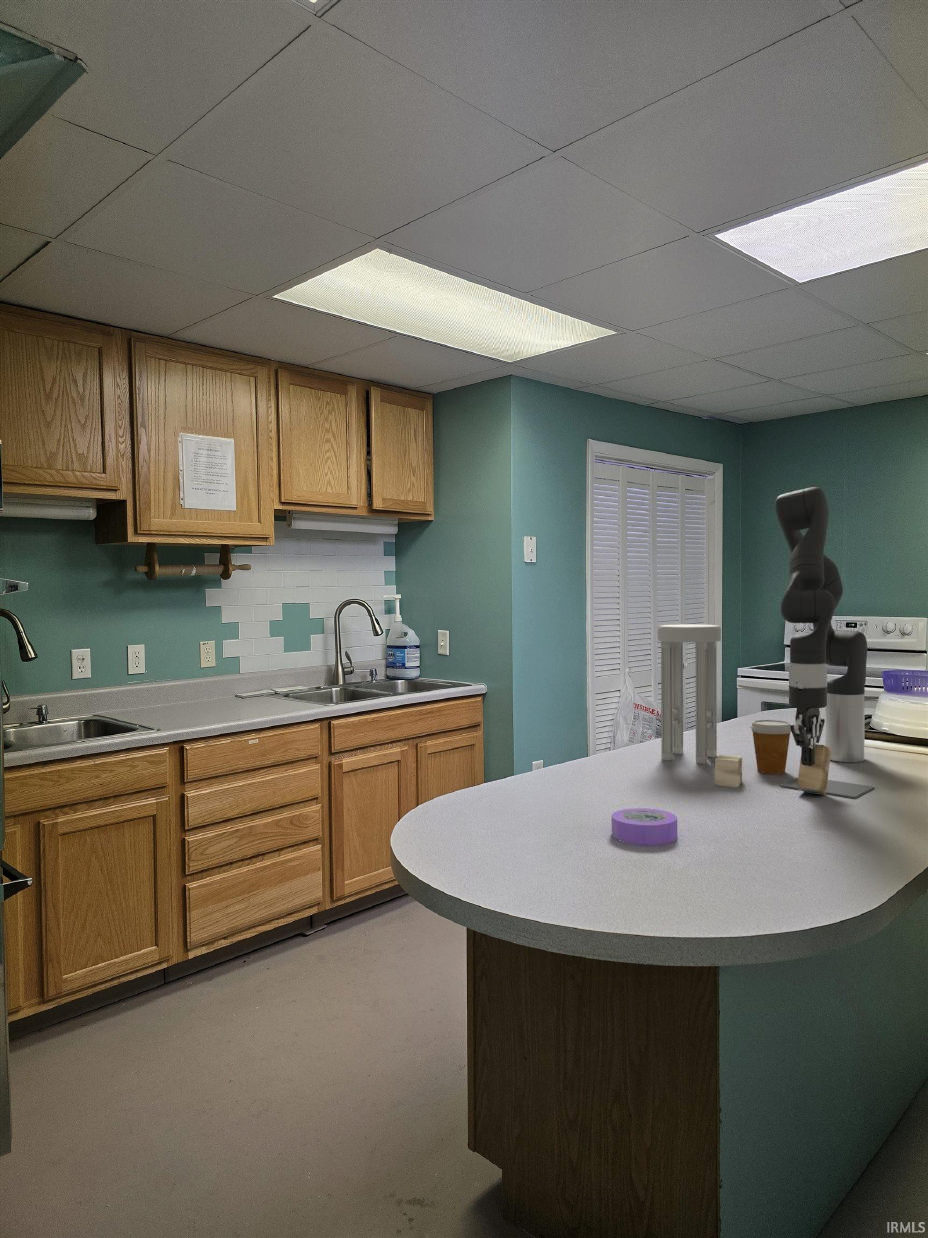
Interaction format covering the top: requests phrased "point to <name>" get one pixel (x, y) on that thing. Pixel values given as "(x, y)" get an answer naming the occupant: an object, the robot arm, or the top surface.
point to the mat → (837, 788)
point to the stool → (673, 688)
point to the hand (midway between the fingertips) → (807, 765)
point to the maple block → (728, 770)
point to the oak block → (815, 772)
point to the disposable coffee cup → (771, 745)
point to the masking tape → (644, 826)
